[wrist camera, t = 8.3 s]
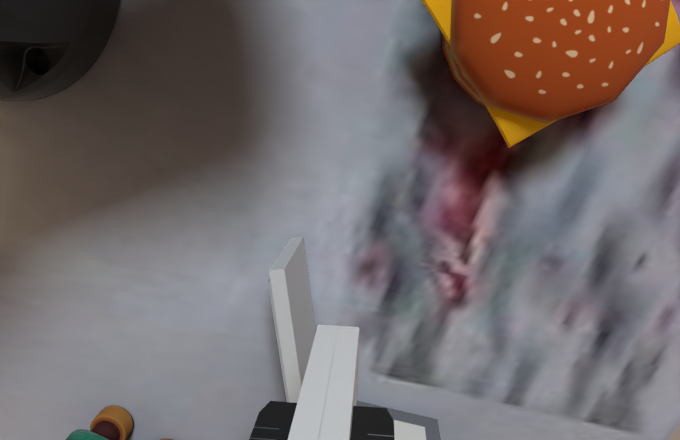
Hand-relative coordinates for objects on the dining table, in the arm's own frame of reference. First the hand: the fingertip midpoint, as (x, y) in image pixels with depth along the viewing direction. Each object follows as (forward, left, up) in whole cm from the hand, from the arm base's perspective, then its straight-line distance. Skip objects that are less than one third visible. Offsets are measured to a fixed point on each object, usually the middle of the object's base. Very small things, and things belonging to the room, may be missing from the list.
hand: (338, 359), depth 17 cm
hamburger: (-14, +6, -13) cm, 20 cm away
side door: (+5, -2, -12) cm, 13 cm away
